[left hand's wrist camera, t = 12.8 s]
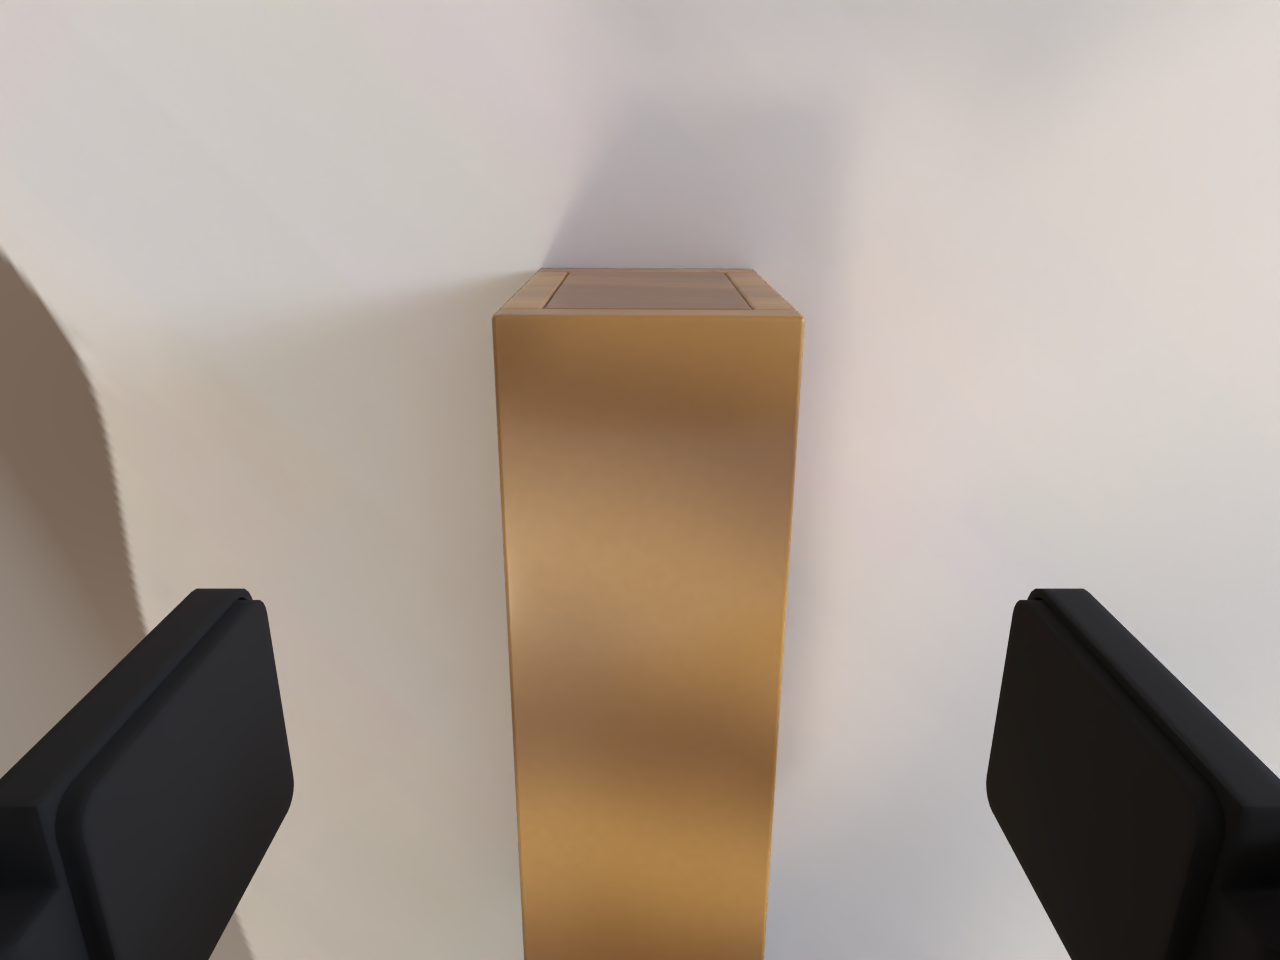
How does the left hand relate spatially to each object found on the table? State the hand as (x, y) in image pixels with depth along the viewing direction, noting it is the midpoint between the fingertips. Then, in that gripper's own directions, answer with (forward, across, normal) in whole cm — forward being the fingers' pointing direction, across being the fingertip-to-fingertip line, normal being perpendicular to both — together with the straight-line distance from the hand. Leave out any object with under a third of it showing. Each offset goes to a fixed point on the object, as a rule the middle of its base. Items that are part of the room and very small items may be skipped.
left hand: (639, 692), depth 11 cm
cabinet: (+16, 0, -7) cm, 18 cm away
